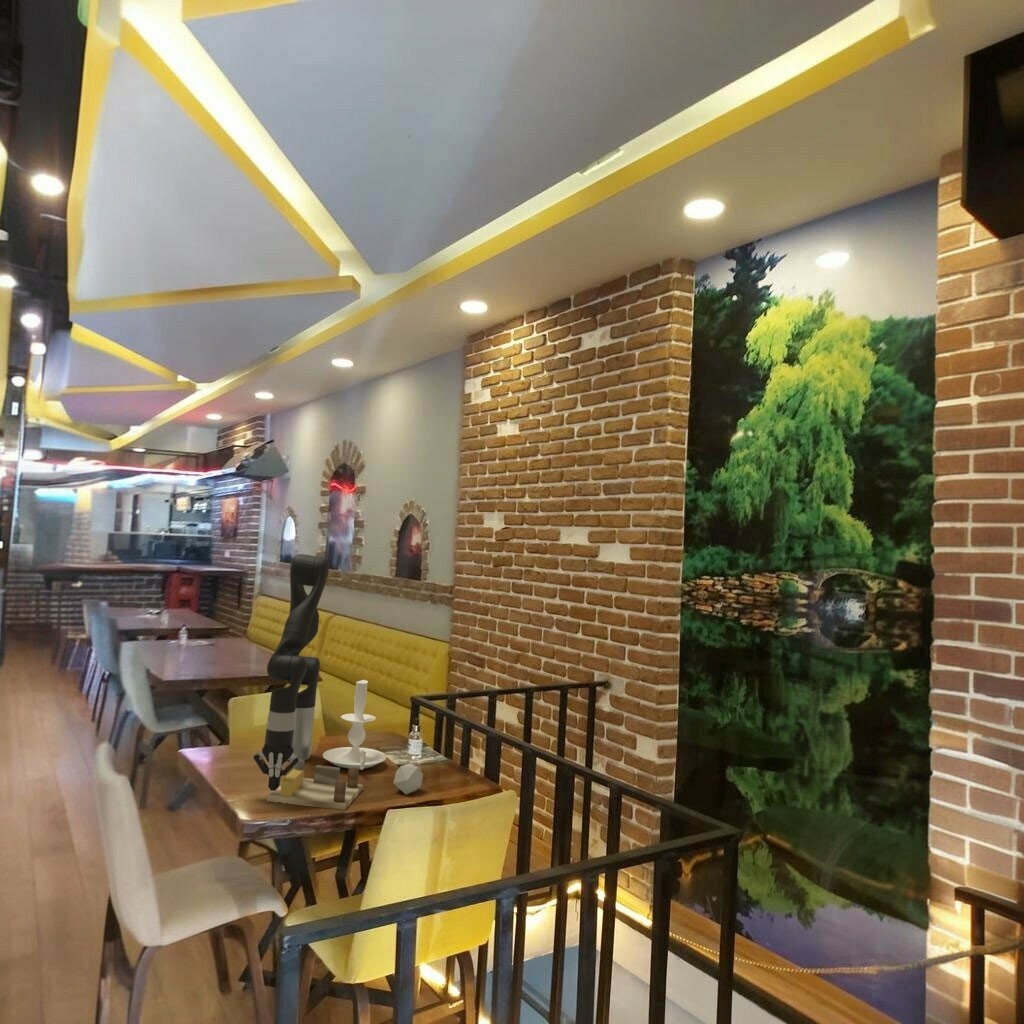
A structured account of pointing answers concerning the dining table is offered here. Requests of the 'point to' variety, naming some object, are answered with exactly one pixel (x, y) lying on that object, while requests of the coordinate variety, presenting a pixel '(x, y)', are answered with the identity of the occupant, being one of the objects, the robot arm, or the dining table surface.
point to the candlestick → (356, 737)
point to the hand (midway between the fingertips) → (273, 789)
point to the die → (408, 778)
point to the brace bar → (293, 779)
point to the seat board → (323, 789)
